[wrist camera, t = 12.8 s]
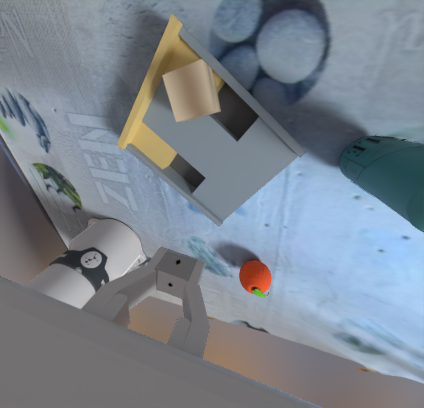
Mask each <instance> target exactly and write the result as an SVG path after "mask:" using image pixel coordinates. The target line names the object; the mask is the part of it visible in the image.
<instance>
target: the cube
mask: <svg viewBox="0 0 424 408" xmlns="http://www.w3.org/2000/svg"><path fill="white" fill-rule="evenodd" d="M162 77H163V80H164V83H165V87H166V90H167V93H168V97H169V100H170V103H171V107H172V110H173V114H174V117H175V120H176V122H180V121H189V120H193V119H196V118H200V117H203V116H207V115H210V114H214V113H217V112H221V109H220V104H219V98H218V93H217V88H216V83H215V78H214V72H213V69H212V68H211V67H210V66H209V65H208V64H207V63H206V62H205V61H204V60H202V59H201V60H198V61H196V62H193V63H191V64H188V65H186V66H184V67H181V68H179V69H176V70H174V71H171V72H169V73H166V74H164V75H162Z"/></svg>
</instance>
